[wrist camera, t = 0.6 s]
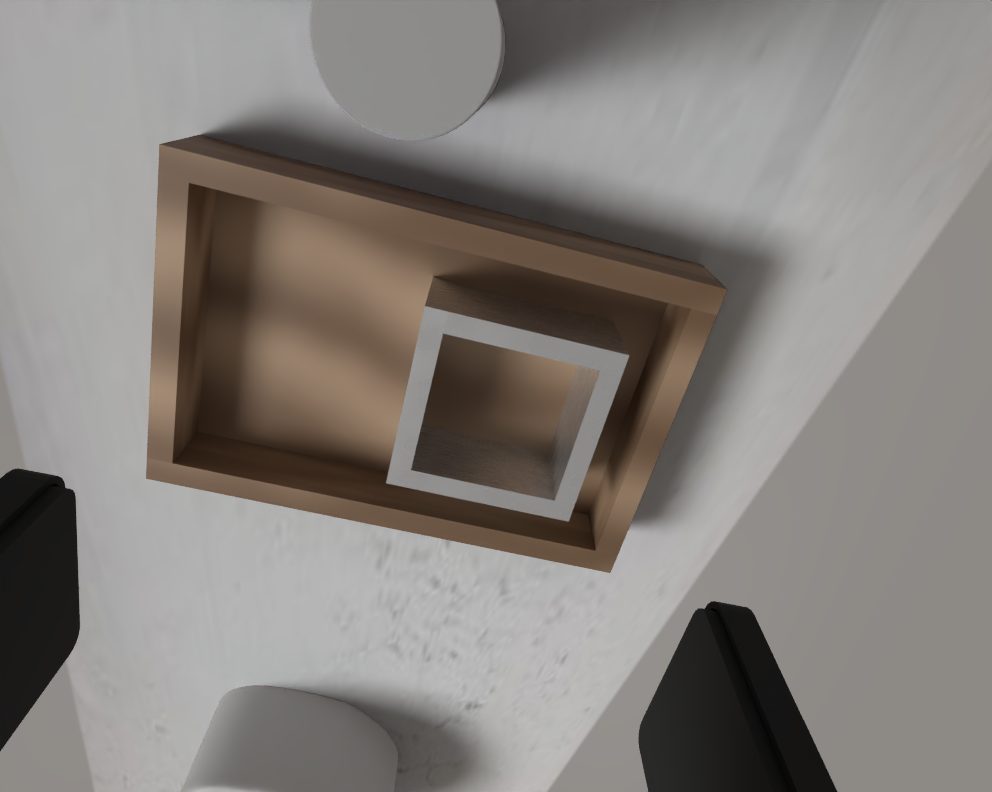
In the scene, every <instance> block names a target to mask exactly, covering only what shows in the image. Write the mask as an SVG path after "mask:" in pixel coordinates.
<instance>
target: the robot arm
mask: <svg viewBox="0 0 992 792" xmlns="http://www.w3.org/2000/svg"><path fill="white" fill-rule="evenodd" d="M79 630H80V615H79V585H78V555H77V526H76V498H75V493H74V491H73V490H71V489H67V488H65V483H64V481H63V479H62V478H61V477H59V476H55V475H49V474H44V473H39V472H34V471H28V470H23V469H13V470H11V471H10V472H8V473H6V474H5V475H4V476H3V477H2V478H0V751H1V749H2V748H3V747H4V745H5V744H6V742H7V741H8V740H9V738H10V737H11V736H12V734H13V733H14V731H15V730H16V728H17V727H18V726H19V724H20V723H21V722H22V720H23V719H24V717H25V716H26V715H27V713H28V712H29V710H30V709H31V708H32V706H33V705H34V704H35V702H36V701H37V699H38V698H39V697H40V695H41V694H42V692H43V691H44V690H45V688H46V687H47V685H48V684H49V682H50V681H51V680H52V678H53V677H54V676H55V674H56V673H57V671H58V670H59V669H60V667H61V666H62V664H63V663H64V662H65V660H66V659H67V658H68V656H69V655H70V653H71V651H72V650H73V648H74V646H75V644H76V641H77V638H78V635H79ZM639 748H640V754H641V758H642V763H643V768H644V773H645V777H646V782H647V787H648V792H837V790H836V788H835V786H834V784H833V782H832V779H831V778H830V775H829V773H828V771H827V769H826V767H825V765H824V762H823V760H822V758H821V756H820V754H819V752H818V750H817V747H816V745H815V743H814V741H813V739H812V737H811V735H810V732H809V730H808V728H807V726H806V724H805V722H804V720H803V718H802V716H801V714H800V712H799V710H798V707H797V705H796V703H795V701H794V699H793V697H792V695H791V692H790V690H789V688H788V686H787V684H786V682H785V680H784V677H783V675H782V673H781V671H780V669H779V667H778V665H777V662H776V660H775V658H774V656H773V654H772V652H771V650H770V647H769V645H768V643H767V641H766V639H765V637H764V635H763V632H762V630H761V628H760V626H759V624H758V622H757V620H756V617H755V615H754V614H753V612H752V611H751V610H750V609H748V608H747V607H741V606H736V605H731V604H726V603H721V602H715V601H714V602H710V603H709V604H708V605H707V606H706V608H705V609H697V610H696V611H695V613H694V614H693V616H692V618H691V620H690V622H689V624H688V626H687V628H686V631H685V633H684V635H683V637H682V639H681V641H680V643H679V645H678V647H677V649H676V651H675V653H674V655H673V657H672V659H671V662H670V664H669V666H668V668H667V670H666V672H665V674H664V676H663V678H662V680H661V682H660V684H659V686H658V688H657V691H656V693H655V695H654V697H653V699H652V701H651V703H650V705H649V707H648V710H647V711H646V713H645V715H644V717H643V720H642V722H641V725H640V730H639Z"/></svg>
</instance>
